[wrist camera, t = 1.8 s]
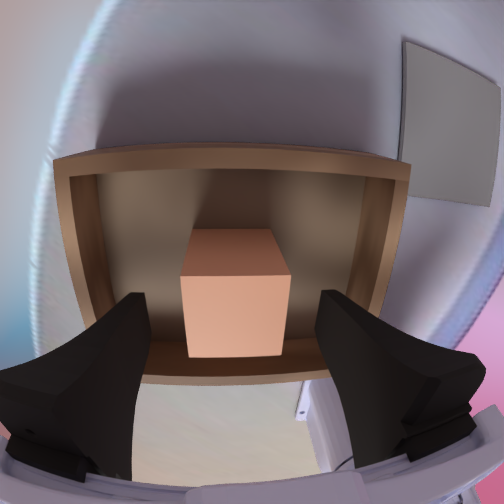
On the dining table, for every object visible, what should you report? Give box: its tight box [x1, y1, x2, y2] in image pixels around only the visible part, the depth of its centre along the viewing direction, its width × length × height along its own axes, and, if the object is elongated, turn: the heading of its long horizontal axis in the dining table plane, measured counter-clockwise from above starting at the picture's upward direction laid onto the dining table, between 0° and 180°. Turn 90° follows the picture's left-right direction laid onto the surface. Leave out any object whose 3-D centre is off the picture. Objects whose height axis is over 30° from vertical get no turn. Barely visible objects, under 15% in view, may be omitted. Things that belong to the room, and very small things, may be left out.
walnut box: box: [53, 142, 412, 386], centre depth 15 cm, size 13×16×4 cm
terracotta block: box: [180, 229, 291, 358], centre depth 14 cm, size 4×4×5 cm
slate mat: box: [398, 41, 501, 207], centre depth 15 cm, size 10×10×1 cm
